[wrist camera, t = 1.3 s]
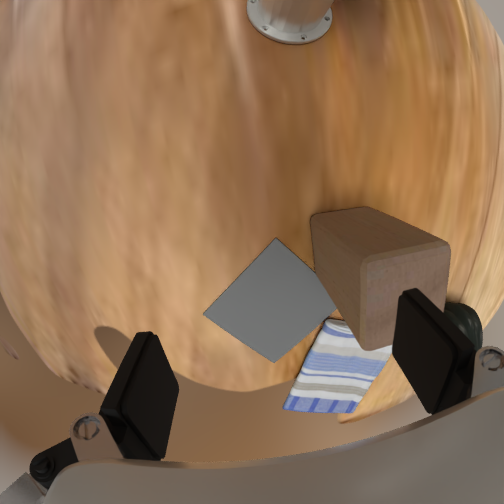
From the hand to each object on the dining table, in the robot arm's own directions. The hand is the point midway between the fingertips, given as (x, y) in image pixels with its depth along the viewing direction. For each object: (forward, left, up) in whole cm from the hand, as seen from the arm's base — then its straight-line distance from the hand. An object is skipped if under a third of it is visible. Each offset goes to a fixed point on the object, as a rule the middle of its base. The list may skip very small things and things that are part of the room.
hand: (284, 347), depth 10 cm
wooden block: (-5, +14, -32) cm, 35 cm away
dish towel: (+12, +34, -32) cm, 48 cm away
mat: (+10, +14, -32) cm, 36 cm away
